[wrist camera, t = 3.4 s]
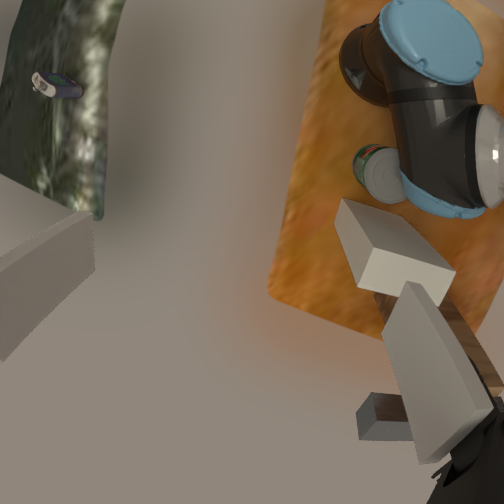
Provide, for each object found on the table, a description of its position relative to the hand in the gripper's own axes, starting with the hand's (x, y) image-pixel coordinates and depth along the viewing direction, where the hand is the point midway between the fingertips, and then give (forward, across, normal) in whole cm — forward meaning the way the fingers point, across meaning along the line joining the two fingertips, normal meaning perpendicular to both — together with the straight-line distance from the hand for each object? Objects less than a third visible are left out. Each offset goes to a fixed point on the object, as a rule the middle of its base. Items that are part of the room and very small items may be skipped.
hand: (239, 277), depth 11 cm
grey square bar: (+11, +28, -20) cm, 35 cm away
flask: (+42, -45, +10) cm, 62 cm away
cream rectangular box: (+41, +18, -7) cm, 45 cm away
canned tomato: (+41, +17, +3) cm, 44 cm away
